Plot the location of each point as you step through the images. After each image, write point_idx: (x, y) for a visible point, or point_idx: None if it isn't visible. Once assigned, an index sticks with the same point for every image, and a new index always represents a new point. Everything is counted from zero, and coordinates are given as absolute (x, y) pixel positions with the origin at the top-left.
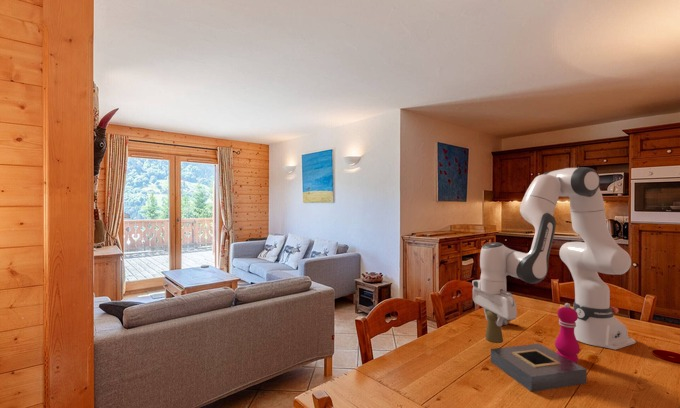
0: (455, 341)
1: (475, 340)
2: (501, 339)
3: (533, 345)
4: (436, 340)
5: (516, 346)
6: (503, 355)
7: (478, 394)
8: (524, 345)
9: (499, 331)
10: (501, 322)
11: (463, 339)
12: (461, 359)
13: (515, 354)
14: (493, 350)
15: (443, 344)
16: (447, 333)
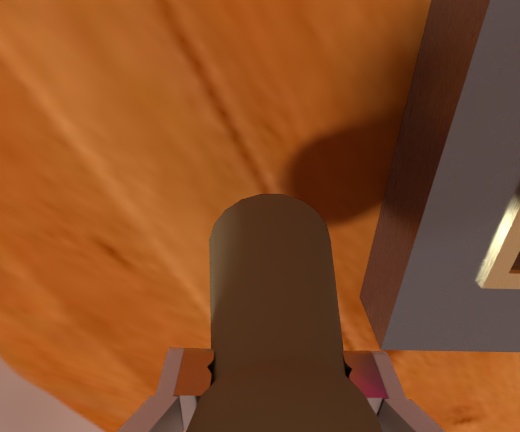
0: (124, 323)
1: (118, 225)
2: (330, 245)
3: (507, 25)
4: (107, 382)
5: (436, 193)
6: (468, 338)
7: (490, 427)
8: (459, 116)
9: (337, 302)
10: (398, 391)
11: (100, 278)
12: None
13: (512, 288)
14: (401, 348)
15: (152, 376)
16: (15, 311)
